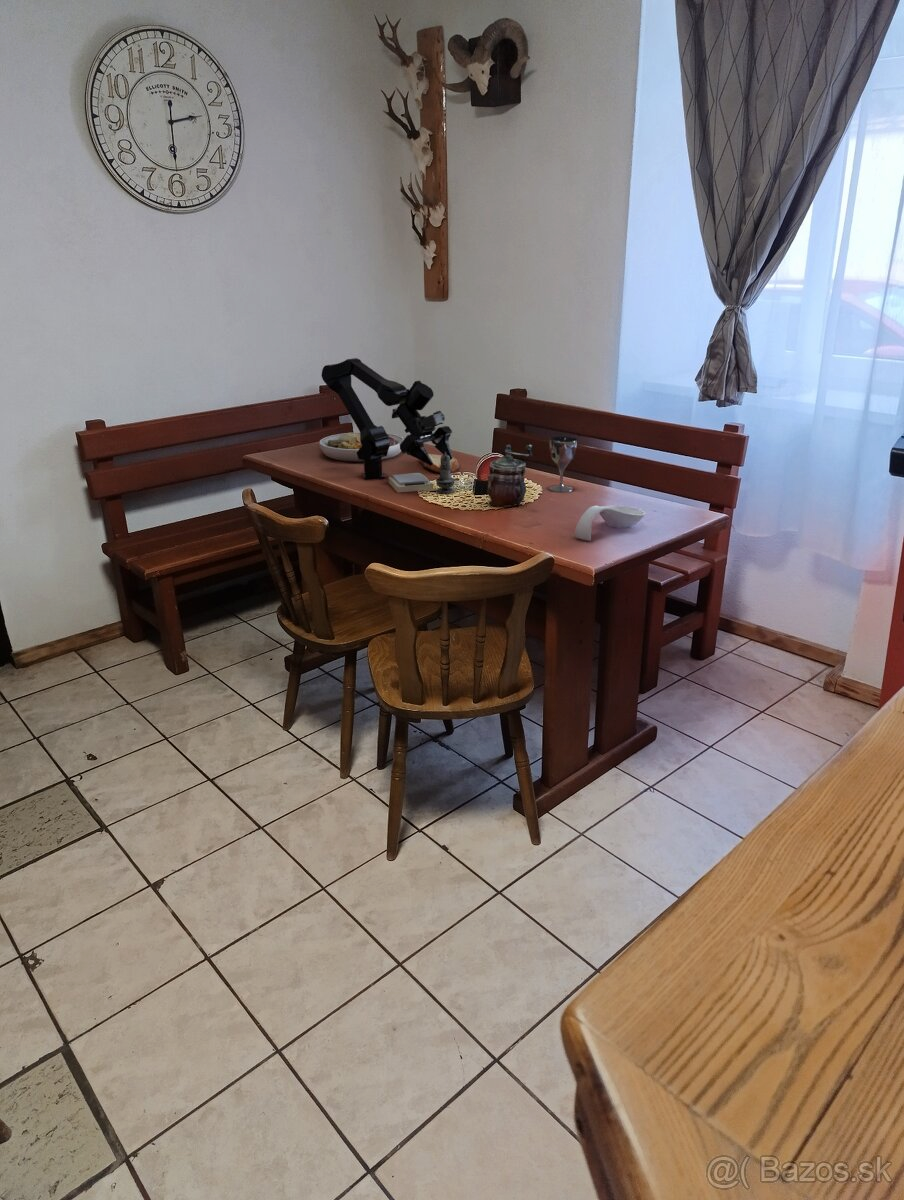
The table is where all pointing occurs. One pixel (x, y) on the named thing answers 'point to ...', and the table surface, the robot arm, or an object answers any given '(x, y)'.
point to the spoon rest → (607, 518)
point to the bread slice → (437, 463)
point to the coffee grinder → (507, 479)
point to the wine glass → (562, 457)
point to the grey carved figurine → (445, 476)
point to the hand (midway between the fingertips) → (441, 461)
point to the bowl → (353, 446)
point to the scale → (410, 482)
